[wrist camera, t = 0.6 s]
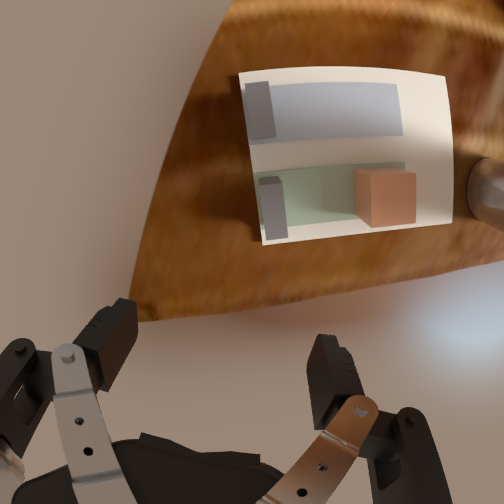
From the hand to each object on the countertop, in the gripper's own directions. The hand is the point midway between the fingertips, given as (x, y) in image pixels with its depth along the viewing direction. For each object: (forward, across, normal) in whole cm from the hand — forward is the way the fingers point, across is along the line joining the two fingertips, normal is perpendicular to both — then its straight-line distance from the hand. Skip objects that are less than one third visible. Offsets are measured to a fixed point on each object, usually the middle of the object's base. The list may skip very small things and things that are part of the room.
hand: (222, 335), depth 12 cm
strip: (+21, -6, -13) cm, 25 cm away
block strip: (+21, -9, -4) cm, 23 cm away
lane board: (+22, -11, -10) cm, 27 cm away
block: (+20, -13, -6) cm, 25 cm away
